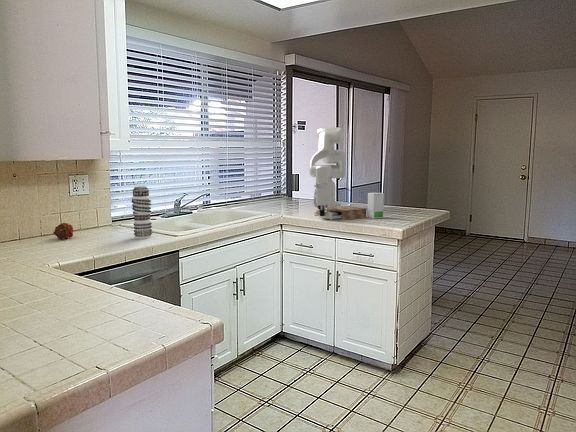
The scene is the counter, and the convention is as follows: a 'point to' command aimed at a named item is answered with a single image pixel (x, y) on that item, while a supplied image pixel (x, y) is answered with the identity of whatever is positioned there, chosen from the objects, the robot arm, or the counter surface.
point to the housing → (348, 212)
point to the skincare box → (375, 205)
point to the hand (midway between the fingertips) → (322, 216)
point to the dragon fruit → (63, 231)
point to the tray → (330, 216)
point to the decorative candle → (141, 212)
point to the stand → (316, 212)
